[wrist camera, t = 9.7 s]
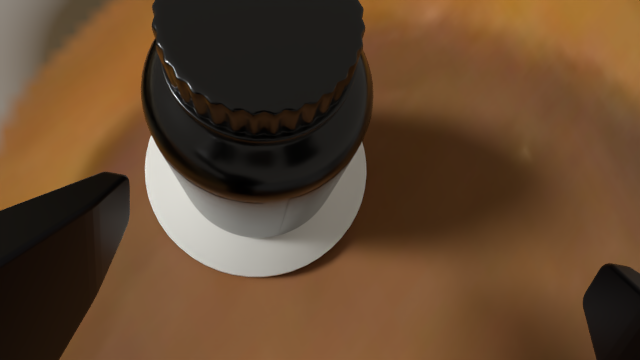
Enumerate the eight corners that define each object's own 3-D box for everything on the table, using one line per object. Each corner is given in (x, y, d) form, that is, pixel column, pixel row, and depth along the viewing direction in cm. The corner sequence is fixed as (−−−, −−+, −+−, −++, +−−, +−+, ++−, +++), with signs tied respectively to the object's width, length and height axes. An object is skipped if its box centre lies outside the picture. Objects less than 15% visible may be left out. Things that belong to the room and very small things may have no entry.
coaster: (306, 316, 22) (308, 316, 21) (105, 214, 22) (99, 210, 21) (395, 129, 25) (400, 122, 24) (216, 39, 25) (214, 29, 24)
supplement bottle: (270, 69, 24) (290, -157, 12) (362, 178, 23) (475, 45, 12) (147, 152, 22) (36, -22, 10) (243, 274, 21) (238, 230, 10)
